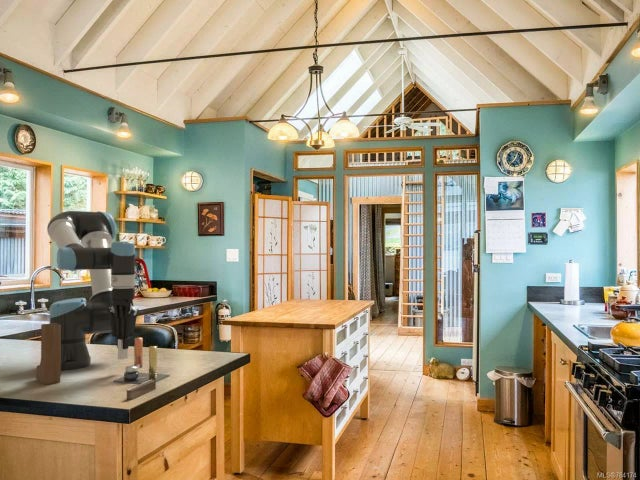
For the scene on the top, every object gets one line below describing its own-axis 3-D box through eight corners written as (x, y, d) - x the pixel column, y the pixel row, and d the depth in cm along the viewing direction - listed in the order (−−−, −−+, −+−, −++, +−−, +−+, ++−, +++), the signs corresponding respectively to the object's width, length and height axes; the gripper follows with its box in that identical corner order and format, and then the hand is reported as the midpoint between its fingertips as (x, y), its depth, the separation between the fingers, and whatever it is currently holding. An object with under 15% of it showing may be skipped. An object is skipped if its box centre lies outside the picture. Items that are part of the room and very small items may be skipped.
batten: (126, 399, 150) (126, 389, 150) (150, 388, 161) (150, 379, 161) (131, 399, 149) (131, 390, 149) (155, 388, 161) (155, 379, 161)
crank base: (113, 381, 169) (113, 348, 169) (134, 373, 180) (134, 342, 181) (150, 384, 166) (150, 350, 166) (169, 375, 177) (170, 343, 177)
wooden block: (35, 379, 172) (36, 322, 172) (51, 377, 175) (51, 321, 175) (45, 385, 165) (45, 325, 165) (60, 382, 168) (61, 324, 168)
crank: (135, 373, 169) (135, 342, 169) (123, 373, 169) (123, 342, 169) (145, 366, 179) (145, 337, 179) (134, 366, 179) (134, 337, 179)
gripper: (100, 287, 182) (100, 358, 181) (127, 288, 175) (127, 362, 175) (118, 286, 188) (118, 355, 188) (145, 287, 182) (145, 358, 181)
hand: (122, 358), depth 181 cm, fingers closed
